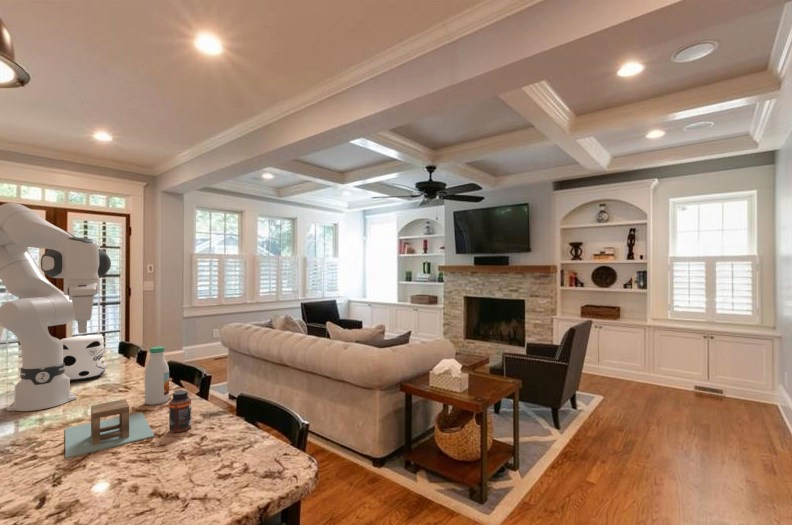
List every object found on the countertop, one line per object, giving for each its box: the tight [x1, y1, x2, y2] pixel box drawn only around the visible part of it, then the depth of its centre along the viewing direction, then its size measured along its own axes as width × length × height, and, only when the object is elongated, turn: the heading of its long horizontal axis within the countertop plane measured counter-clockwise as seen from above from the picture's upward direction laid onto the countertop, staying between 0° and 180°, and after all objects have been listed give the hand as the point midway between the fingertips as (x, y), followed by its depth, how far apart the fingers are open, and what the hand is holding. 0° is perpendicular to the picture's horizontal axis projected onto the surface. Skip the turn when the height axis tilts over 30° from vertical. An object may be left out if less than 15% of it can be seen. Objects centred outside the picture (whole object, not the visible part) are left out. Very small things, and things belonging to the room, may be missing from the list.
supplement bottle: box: [168, 389, 192, 433], centre depth 121 cm, size 6×6×11 cm
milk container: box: [60, 334, 107, 382], centre depth 177 cm, size 17×17×18 cm
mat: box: [64, 412, 156, 459], centre depth 118 cm, size 24×20×1 cm
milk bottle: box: [144, 346, 170, 406], centre depth 146 cm, size 8×8×20 cm
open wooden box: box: [90, 398, 130, 445], centre depth 115 cm, size 9×8×8 cm
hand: (81, 332), depth 125 cm, fingers closed
